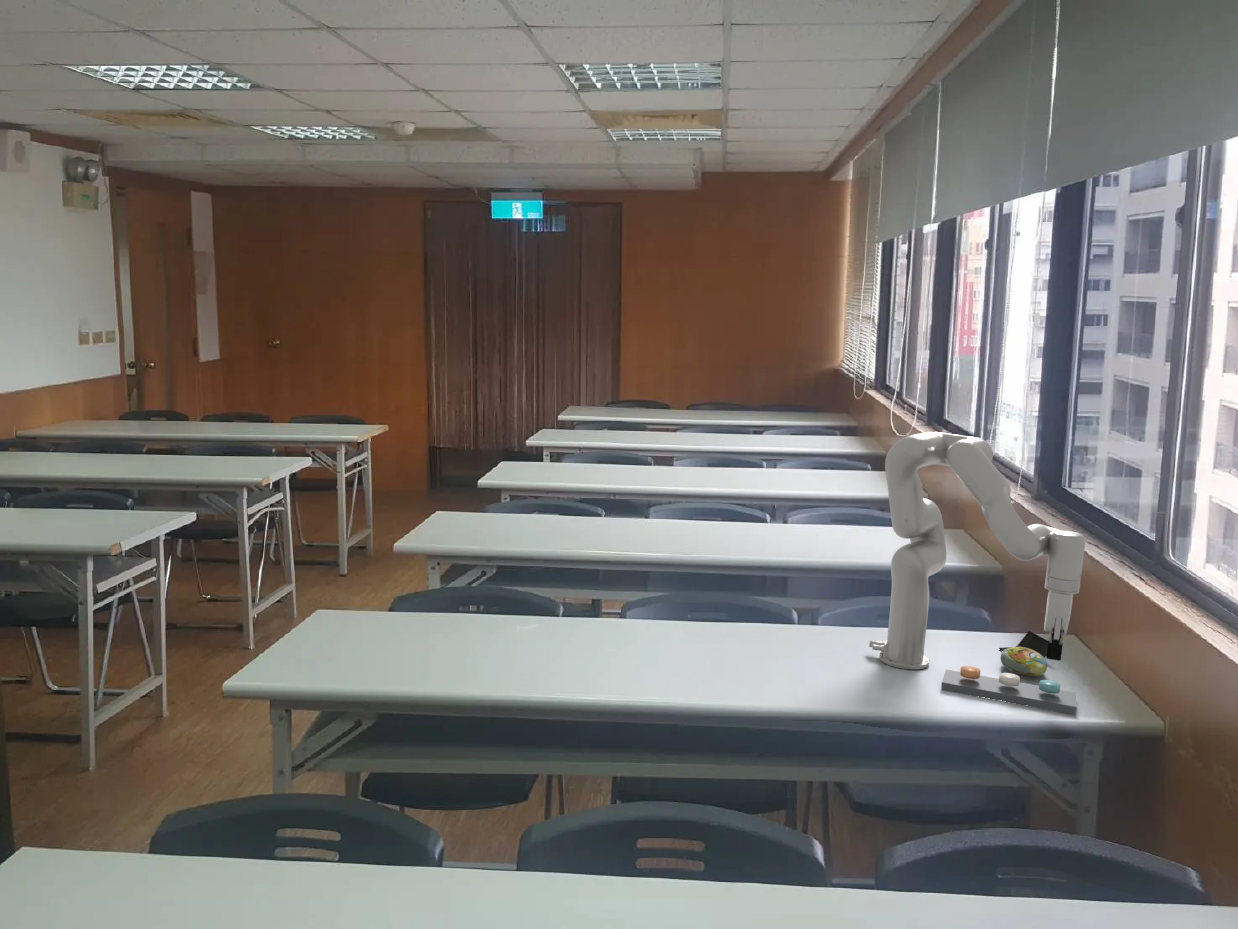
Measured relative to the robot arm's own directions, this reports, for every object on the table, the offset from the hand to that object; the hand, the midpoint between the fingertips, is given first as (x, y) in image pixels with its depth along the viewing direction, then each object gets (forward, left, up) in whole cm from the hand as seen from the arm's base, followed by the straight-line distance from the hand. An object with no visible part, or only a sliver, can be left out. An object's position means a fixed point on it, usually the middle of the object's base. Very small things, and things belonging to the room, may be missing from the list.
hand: (1053, 658), depth 240 cm
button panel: (-9, 0, -11) cm, 14 cm away
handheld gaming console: (-6, +33, -12) cm, 36 cm away
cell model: (-6, +21, -11) cm, 24 cm away
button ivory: (-9, 0, -8) cm, 12 cm away
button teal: (0, 0, -8) cm, 8 cm away
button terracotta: (-18, 0, -8) cm, 20 cm away
